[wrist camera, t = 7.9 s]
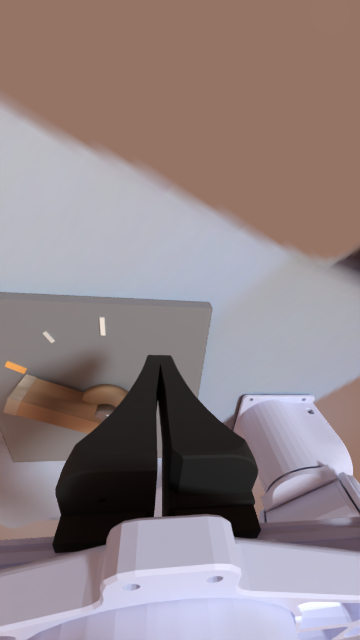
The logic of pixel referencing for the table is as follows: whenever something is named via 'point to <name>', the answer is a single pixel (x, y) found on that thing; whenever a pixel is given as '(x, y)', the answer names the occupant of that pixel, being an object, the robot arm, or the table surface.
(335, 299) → the table surface
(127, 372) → the dial plate
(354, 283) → the table surface
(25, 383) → the dial
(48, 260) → the table surface
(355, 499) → the robot arm
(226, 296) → the table surface
